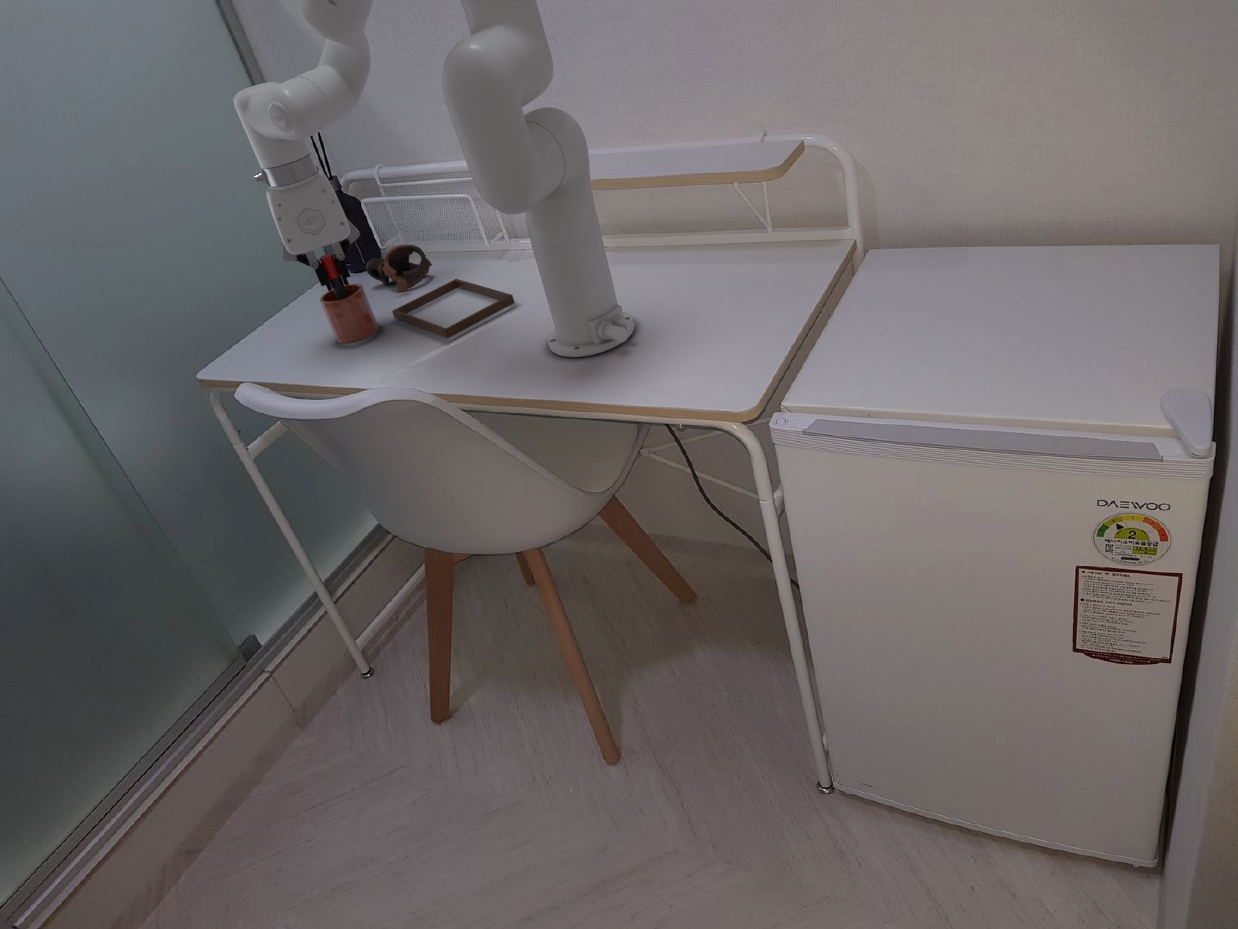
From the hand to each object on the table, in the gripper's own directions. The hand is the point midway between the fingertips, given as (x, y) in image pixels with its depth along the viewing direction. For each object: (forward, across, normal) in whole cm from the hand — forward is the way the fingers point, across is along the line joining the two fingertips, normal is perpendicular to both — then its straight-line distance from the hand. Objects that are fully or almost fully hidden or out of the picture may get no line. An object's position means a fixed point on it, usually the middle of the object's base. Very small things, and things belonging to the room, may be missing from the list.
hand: (337, 284), depth 147 cm
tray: (+9, +16, -5) cm, 19 cm away
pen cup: (+9, 0, 0) cm, 9 cm away
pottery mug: (+10, +11, +17) cm, 22 cm away
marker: (+9, 0, 0) cm, 9 cm away
